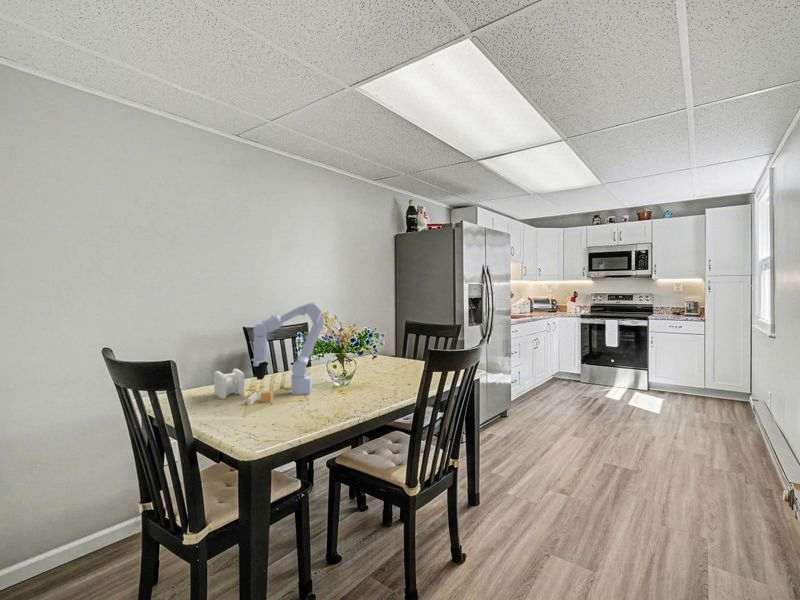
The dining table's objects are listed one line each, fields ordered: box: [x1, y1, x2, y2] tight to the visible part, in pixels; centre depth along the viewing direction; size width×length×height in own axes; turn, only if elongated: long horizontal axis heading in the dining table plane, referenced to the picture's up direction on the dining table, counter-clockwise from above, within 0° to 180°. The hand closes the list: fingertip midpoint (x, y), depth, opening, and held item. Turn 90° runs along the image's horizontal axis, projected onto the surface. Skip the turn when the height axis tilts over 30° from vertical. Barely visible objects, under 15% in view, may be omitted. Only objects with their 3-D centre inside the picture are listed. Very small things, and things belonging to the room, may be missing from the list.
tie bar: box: [246, 391, 261, 406], centre depth 179 cm, size 2×12×2 cm, turn 2°
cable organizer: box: [213, 368, 245, 400], centre depth 191 cm, size 15×11×12 cm
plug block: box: [260, 390, 274, 403], centre depth 180 cm, size 4×4×4 cm
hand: (260, 378), depth 190 cm, fingers closed
